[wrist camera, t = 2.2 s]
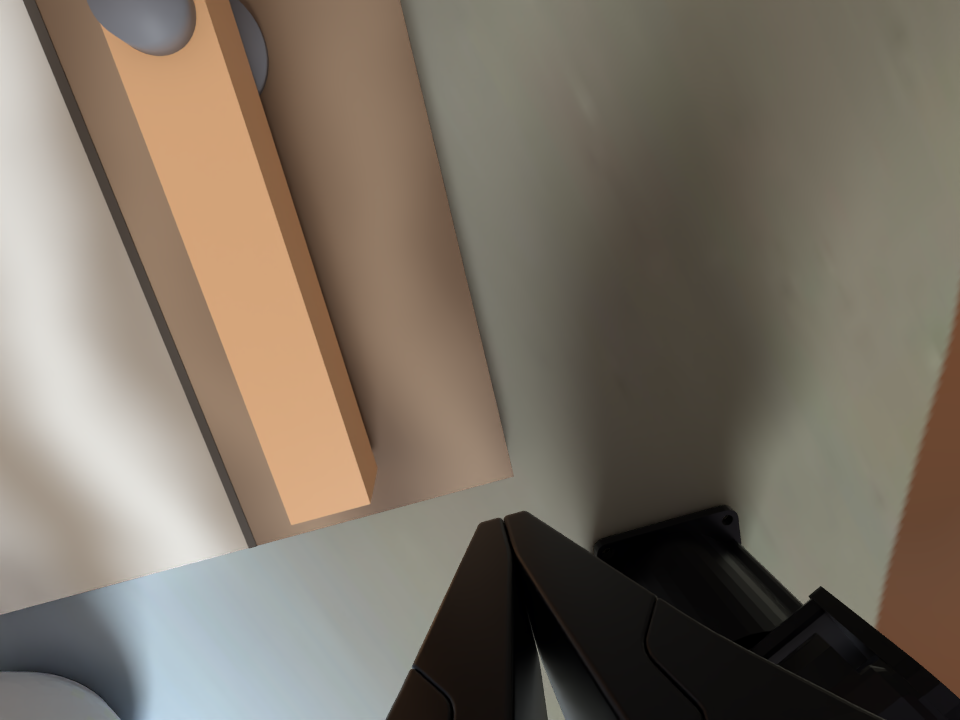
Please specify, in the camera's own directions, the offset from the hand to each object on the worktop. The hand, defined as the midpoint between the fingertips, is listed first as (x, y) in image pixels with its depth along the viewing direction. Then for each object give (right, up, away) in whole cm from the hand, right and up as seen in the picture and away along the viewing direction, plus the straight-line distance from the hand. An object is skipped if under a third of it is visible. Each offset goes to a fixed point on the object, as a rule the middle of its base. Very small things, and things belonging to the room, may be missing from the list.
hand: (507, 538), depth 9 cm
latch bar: (-7, +6, +7) cm, 12 cm away
